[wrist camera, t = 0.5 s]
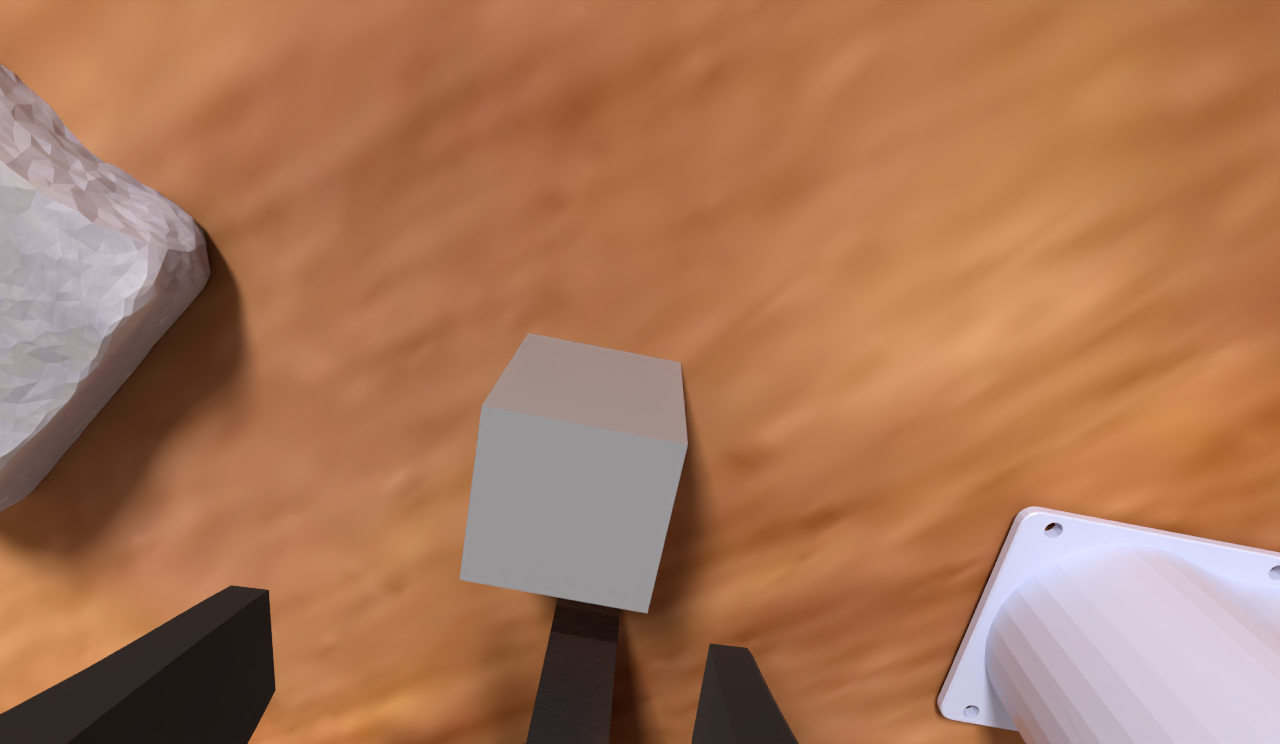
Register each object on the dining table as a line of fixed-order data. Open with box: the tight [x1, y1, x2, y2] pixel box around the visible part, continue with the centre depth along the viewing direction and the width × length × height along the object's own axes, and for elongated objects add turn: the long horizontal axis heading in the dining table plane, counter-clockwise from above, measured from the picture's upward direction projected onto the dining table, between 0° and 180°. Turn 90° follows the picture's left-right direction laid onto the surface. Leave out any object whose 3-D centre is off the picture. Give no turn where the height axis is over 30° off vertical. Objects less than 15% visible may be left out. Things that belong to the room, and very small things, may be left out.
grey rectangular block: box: [460, 333, 688, 613], centre depth 18 cm, size 4×4×6 cm
